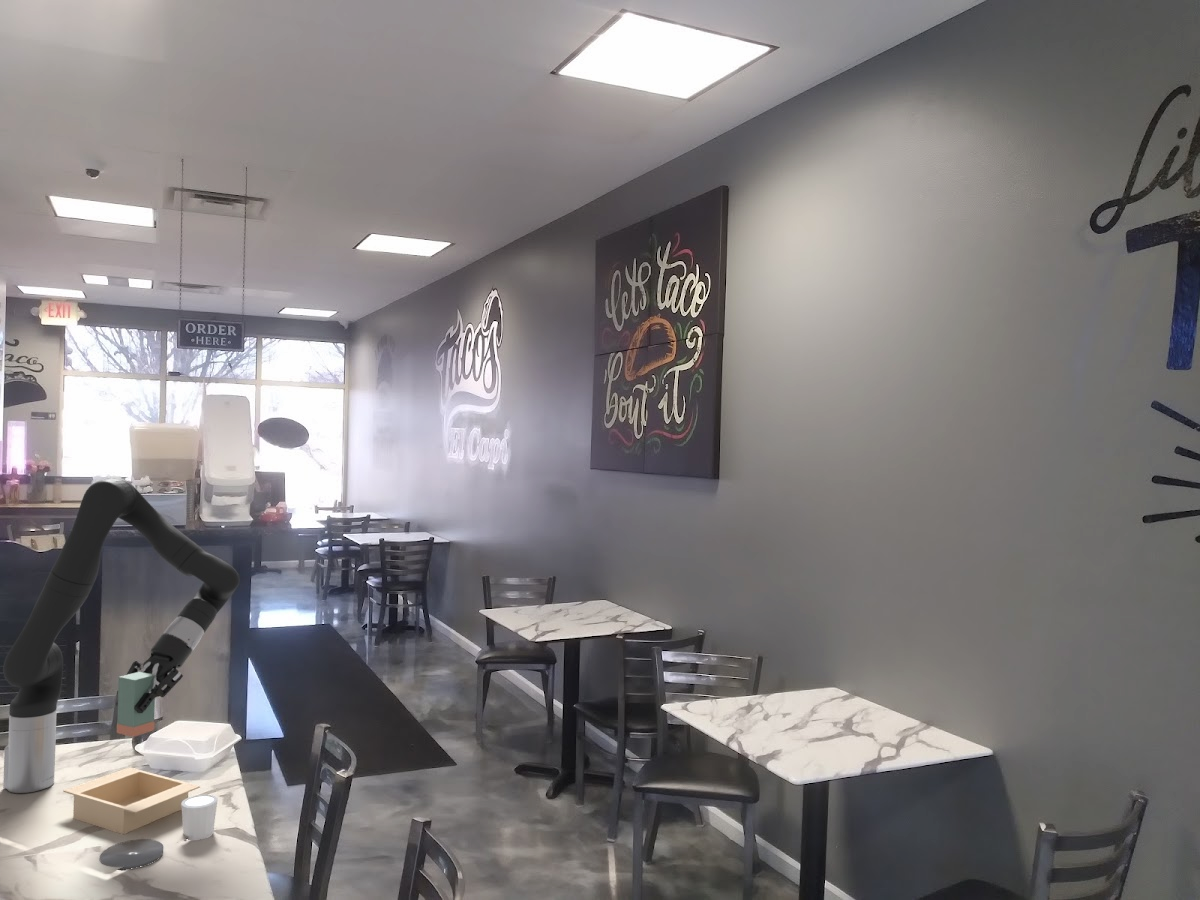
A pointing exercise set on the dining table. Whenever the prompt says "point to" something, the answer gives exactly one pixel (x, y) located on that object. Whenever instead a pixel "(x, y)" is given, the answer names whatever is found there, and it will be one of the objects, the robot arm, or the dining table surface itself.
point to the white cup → (199, 816)
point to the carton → (128, 799)
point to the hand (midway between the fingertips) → (128, 708)
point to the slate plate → (132, 853)
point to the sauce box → (128, 697)
